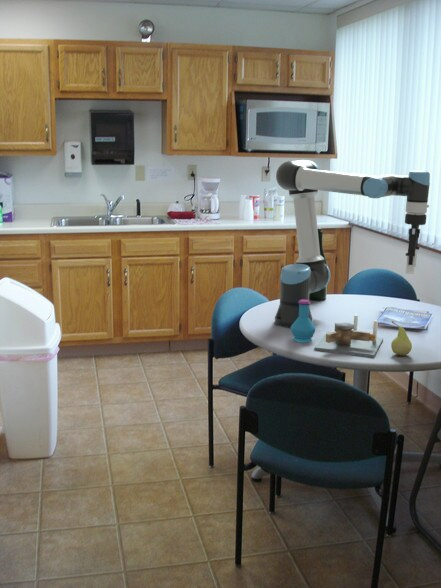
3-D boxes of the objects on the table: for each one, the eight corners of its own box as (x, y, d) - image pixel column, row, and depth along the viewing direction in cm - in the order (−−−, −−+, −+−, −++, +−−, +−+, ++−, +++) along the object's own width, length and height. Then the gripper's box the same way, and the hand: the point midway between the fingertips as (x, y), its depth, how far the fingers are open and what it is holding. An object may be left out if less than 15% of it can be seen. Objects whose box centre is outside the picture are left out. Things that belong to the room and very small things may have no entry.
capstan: (324, 347, 239) (325, 329, 238) (334, 335, 254) (335, 317, 253) (371, 353, 234) (372, 334, 232) (378, 340, 249) (379, 322, 247)
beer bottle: (323, 295, 322) (327, 226, 314) (328, 300, 312) (332, 229, 304) (301, 295, 321) (304, 226, 313) (305, 301, 311) (309, 229, 303)
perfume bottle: (285, 339, 254) (286, 300, 250) (300, 334, 260) (302, 296, 256) (304, 344, 247) (306, 305, 244) (320, 339, 254) (322, 300, 250)
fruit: (409, 359, 233) (412, 325, 230) (387, 356, 236) (390, 323, 233) (412, 353, 239) (414, 321, 236) (390, 351, 242) (392, 318, 239)
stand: (314, 349, 242) (315, 325, 240) (327, 334, 261) (328, 311, 259) (373, 357, 234) (375, 332, 232) (382, 340, 253) (384, 317, 251)
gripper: (425, 218, 238) (419, 277, 243) (428, 210, 260) (422, 264, 266) (402, 216, 240) (397, 275, 245) (407, 209, 263) (403, 262, 268)
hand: (410, 269), depth 255 cm, fingers open, 13 cm apart
